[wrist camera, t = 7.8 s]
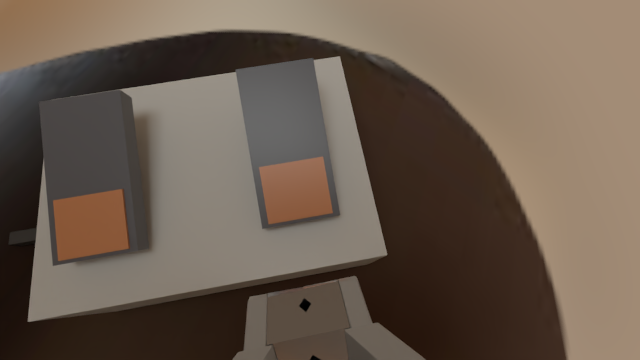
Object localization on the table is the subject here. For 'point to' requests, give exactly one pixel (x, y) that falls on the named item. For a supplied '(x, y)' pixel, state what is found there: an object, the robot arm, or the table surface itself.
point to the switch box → (210, 207)
